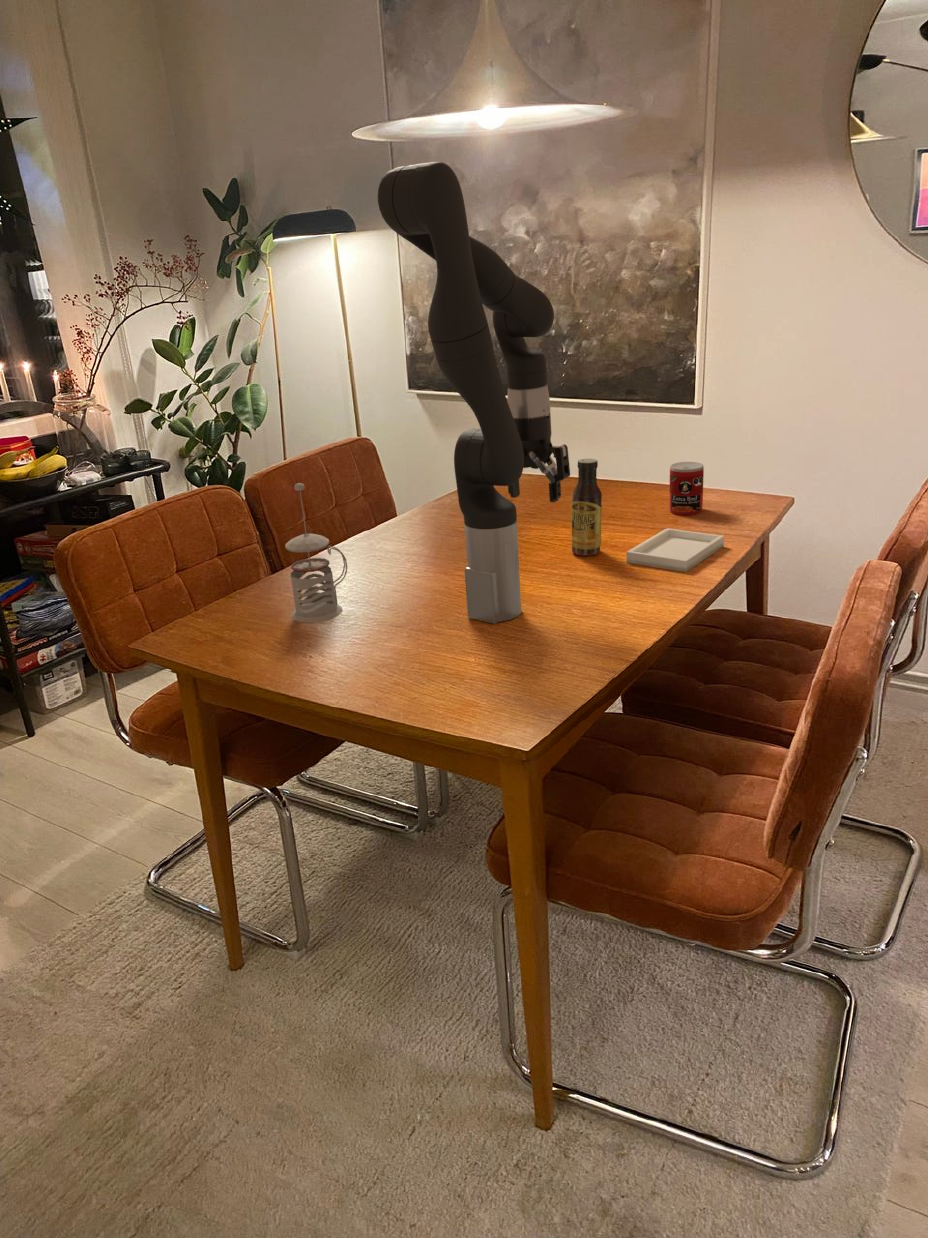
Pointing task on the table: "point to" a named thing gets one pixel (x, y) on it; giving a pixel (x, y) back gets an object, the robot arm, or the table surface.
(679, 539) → the white tray
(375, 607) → the table surface
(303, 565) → the french press
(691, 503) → the canned food
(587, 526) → the sauce bottle
